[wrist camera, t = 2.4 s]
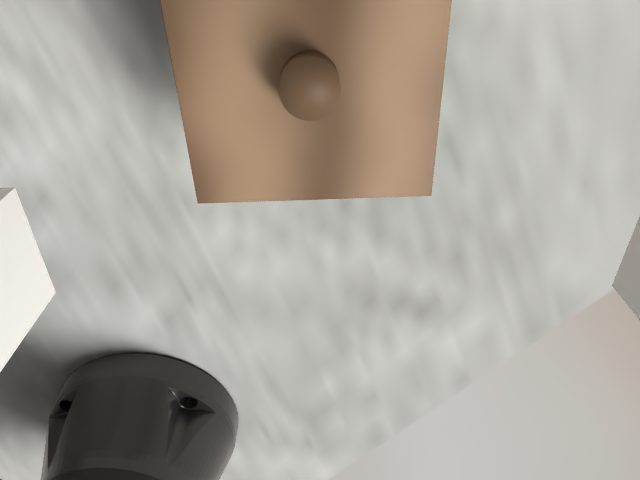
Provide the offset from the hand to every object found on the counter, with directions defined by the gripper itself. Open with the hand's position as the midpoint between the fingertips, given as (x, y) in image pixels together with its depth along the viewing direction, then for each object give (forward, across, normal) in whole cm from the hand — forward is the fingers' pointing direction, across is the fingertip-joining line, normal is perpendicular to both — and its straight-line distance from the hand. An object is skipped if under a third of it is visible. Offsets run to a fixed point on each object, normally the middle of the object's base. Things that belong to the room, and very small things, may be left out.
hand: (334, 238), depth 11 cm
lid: (+14, -1, 0) cm, 14 cm away
